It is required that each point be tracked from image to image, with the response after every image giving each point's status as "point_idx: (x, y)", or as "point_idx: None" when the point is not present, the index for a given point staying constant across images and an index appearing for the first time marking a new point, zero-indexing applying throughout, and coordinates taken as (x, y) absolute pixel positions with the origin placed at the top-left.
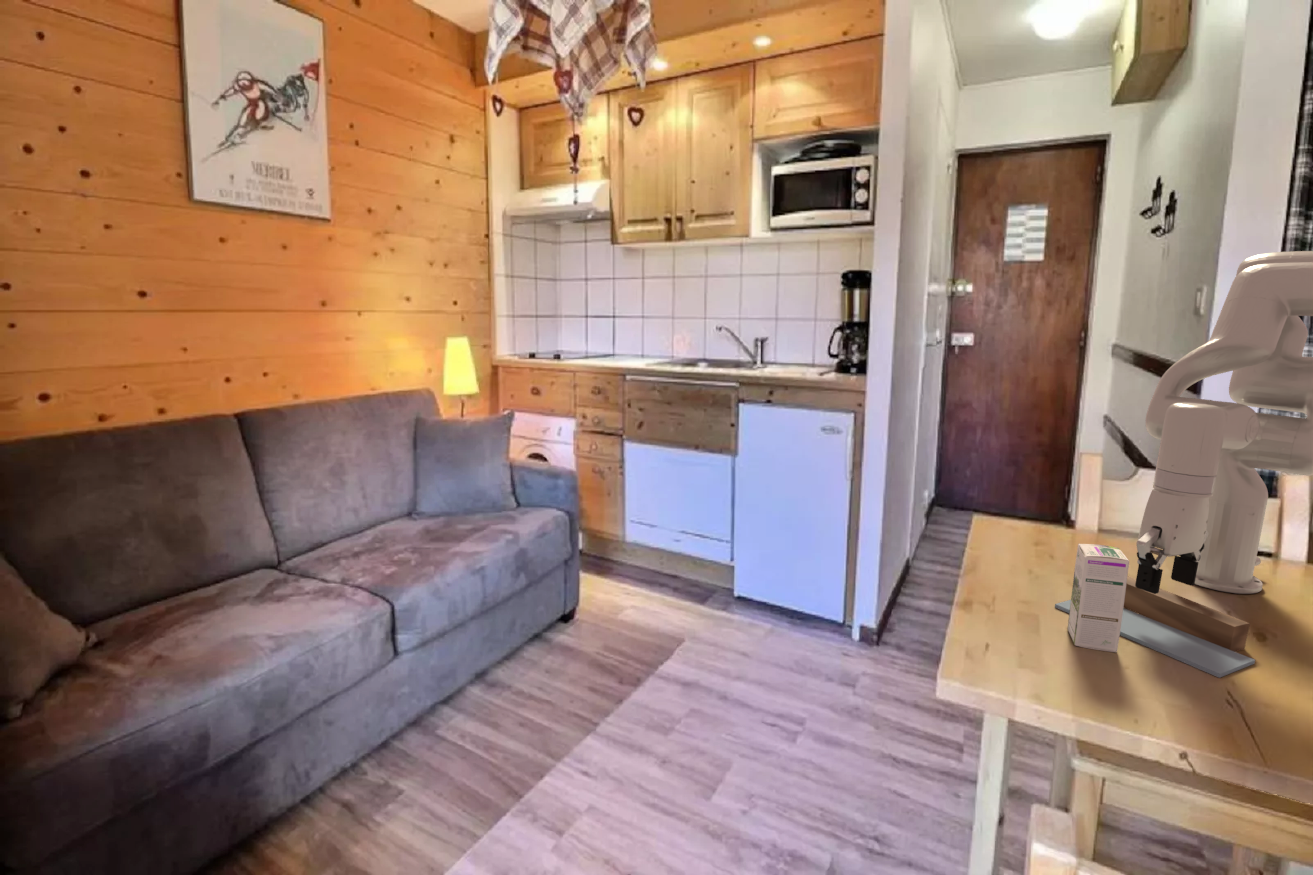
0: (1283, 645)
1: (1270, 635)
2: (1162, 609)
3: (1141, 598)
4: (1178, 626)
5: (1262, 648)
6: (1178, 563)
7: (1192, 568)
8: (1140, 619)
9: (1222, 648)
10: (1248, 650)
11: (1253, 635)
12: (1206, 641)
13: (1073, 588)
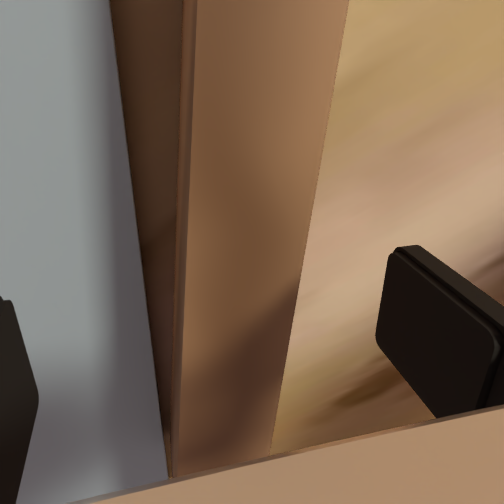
0: (364, 428)
1: (407, 388)
2: (180, 273)
3: (184, 173)
4: (174, 314)
5: (294, 430)
6: (457, 340)
7: (434, 409)
8: (79, 222)
9: (150, 440)
10: None
11: (366, 379)
12: (152, 403)
13: None
